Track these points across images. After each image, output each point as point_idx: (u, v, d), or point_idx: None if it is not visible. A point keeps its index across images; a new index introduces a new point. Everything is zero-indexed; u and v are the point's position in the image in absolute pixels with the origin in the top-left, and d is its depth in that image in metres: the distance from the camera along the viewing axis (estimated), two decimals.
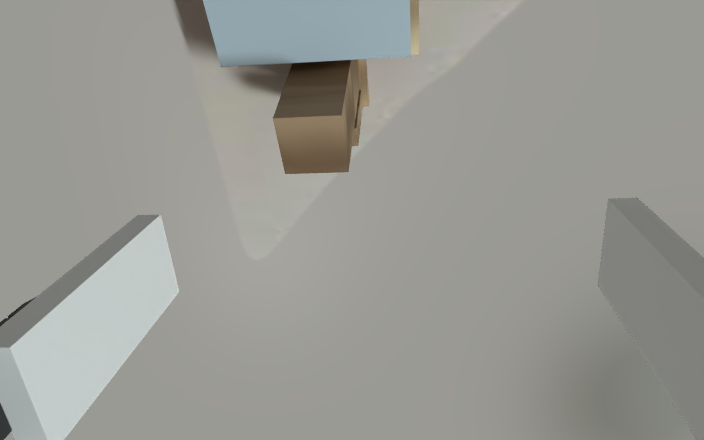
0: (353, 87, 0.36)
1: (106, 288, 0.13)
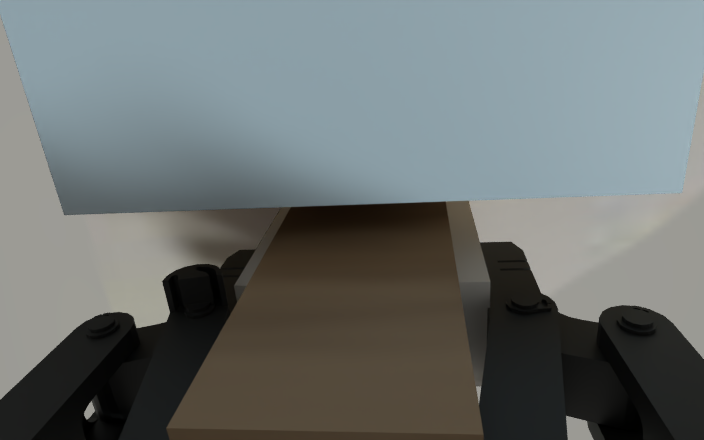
0: None
1: None
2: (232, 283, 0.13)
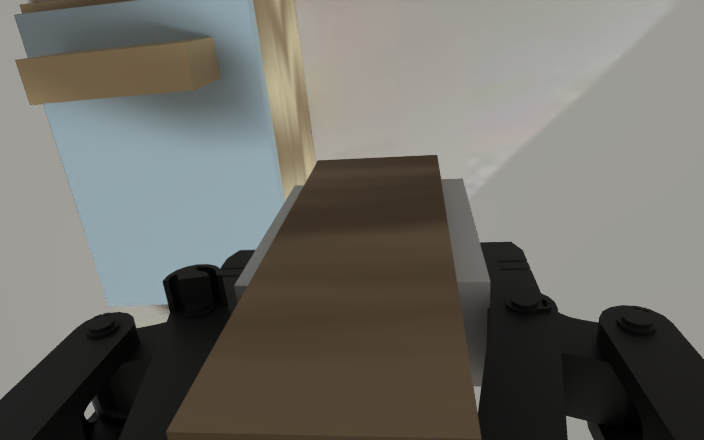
0: None
1: None
2: (232, 283, 0.13)
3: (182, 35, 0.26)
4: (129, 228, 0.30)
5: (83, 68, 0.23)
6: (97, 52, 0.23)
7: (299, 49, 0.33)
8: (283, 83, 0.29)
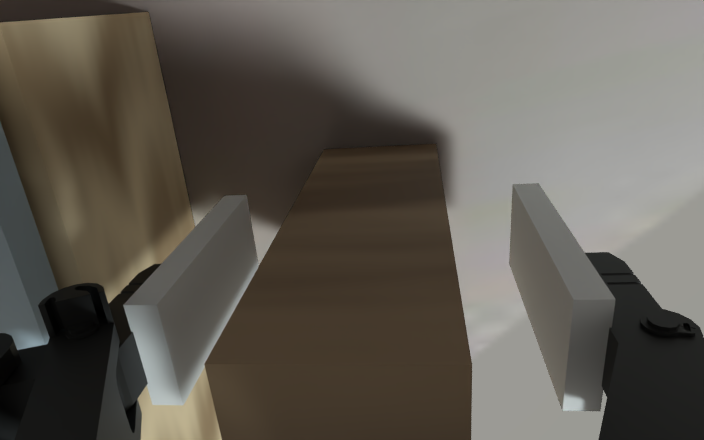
0: None
1: (213, 259, 0.14)
2: None
3: None
4: None
5: None
6: None
7: (170, 131, 0.19)
8: (99, 224, 0.15)
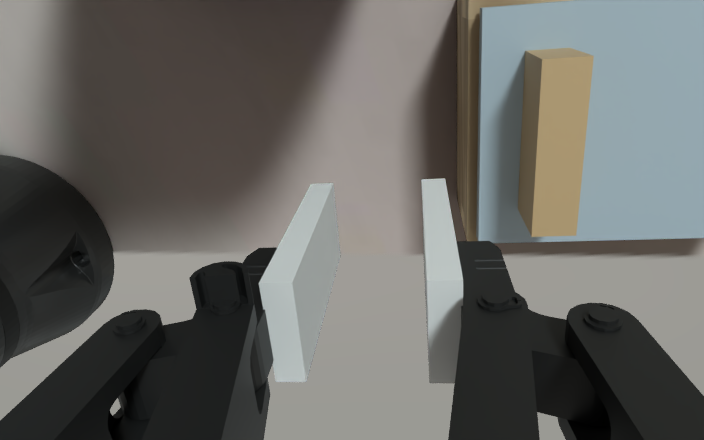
0: None
1: (318, 243, 0.14)
2: (254, 281, 0.13)
3: (519, 83, 0.25)
4: None
5: (550, 172, 0.23)
6: (537, 154, 0.23)
7: None
8: None
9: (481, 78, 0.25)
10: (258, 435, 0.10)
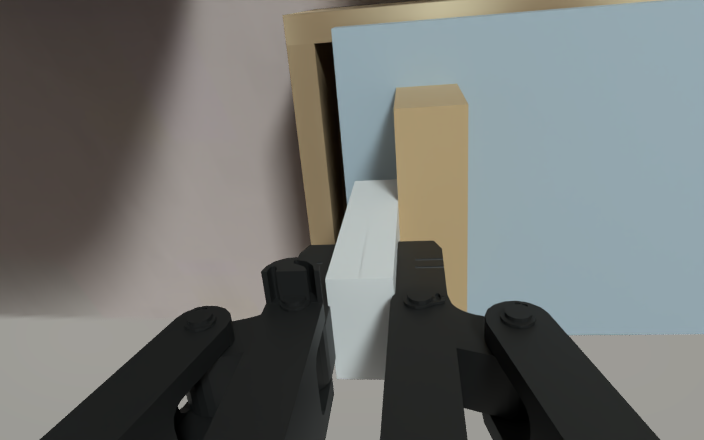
0: None
1: None
2: None
3: (392, 132, 0.18)
4: (676, 269, 0.19)
5: None
6: None
7: None
8: (436, 1, 0.19)
9: (340, 124, 0.18)
10: (320, 436, 0.10)
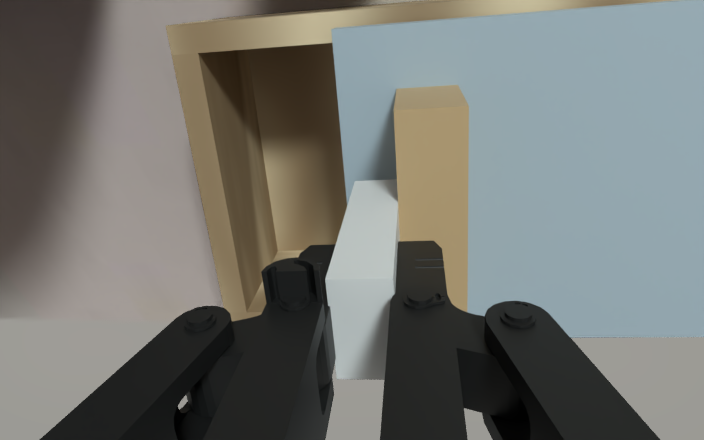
0: None
1: None
2: None
3: (392, 133, 0.18)
4: (678, 271, 0.19)
5: None
6: None
7: (309, 10, 0.24)
8: None
9: (341, 125, 0.18)
10: (320, 436, 0.10)
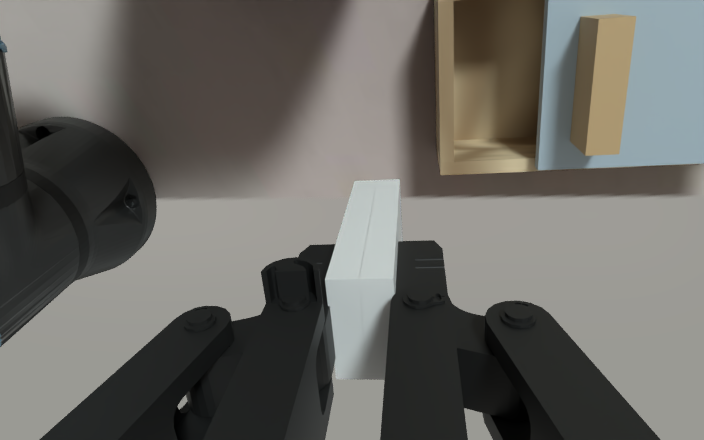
0: None
1: None
2: None
3: (574, 42, 0.33)
4: None
5: (601, 104, 0.31)
6: (592, 91, 0.31)
7: None
8: None
9: (546, 38, 0.33)
10: (320, 436, 0.10)
